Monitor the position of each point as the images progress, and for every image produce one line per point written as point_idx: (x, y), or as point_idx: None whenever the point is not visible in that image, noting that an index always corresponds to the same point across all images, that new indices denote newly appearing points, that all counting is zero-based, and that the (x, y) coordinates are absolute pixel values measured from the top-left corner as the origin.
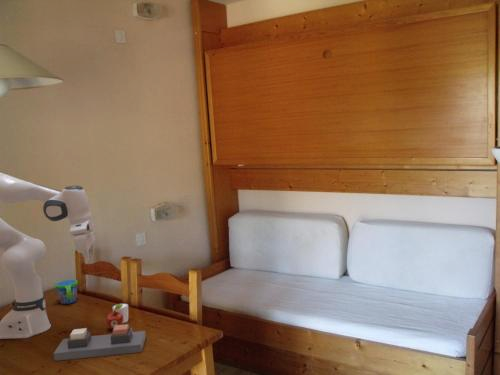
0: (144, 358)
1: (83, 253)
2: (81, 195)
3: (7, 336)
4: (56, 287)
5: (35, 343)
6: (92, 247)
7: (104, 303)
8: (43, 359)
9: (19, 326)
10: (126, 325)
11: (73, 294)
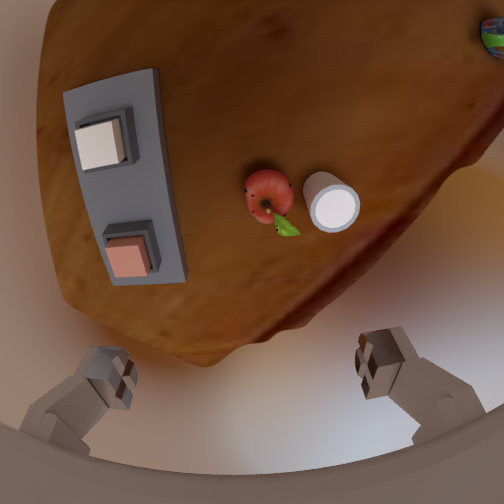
0: (95, 283)
1: (36, 419)
2: None
3: None
4: None
5: None
6: (409, 406)
7: (464, 124)
8: (85, 56)
9: None
10: (137, 273)
11: (500, 52)
